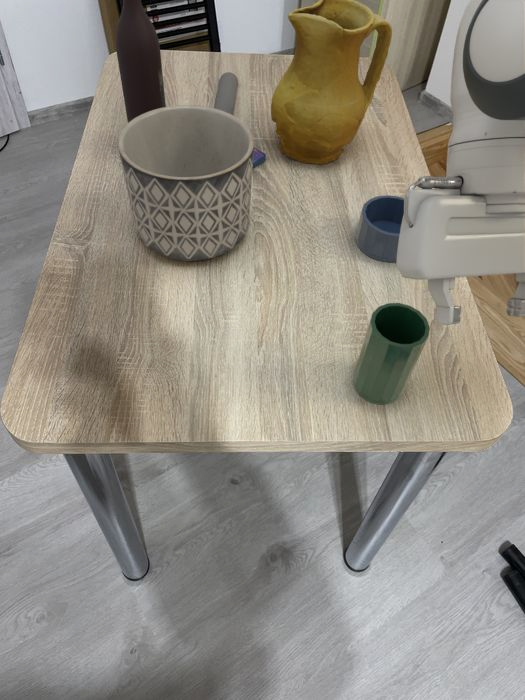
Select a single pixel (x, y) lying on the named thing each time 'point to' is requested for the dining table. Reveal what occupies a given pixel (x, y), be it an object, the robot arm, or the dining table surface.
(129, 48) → the wine bottle
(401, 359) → the slim cup
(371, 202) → the wide cup
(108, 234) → the dining table surface
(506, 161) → the robot arm
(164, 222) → the planter
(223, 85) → the gray half cylinder
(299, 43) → the pitcher
